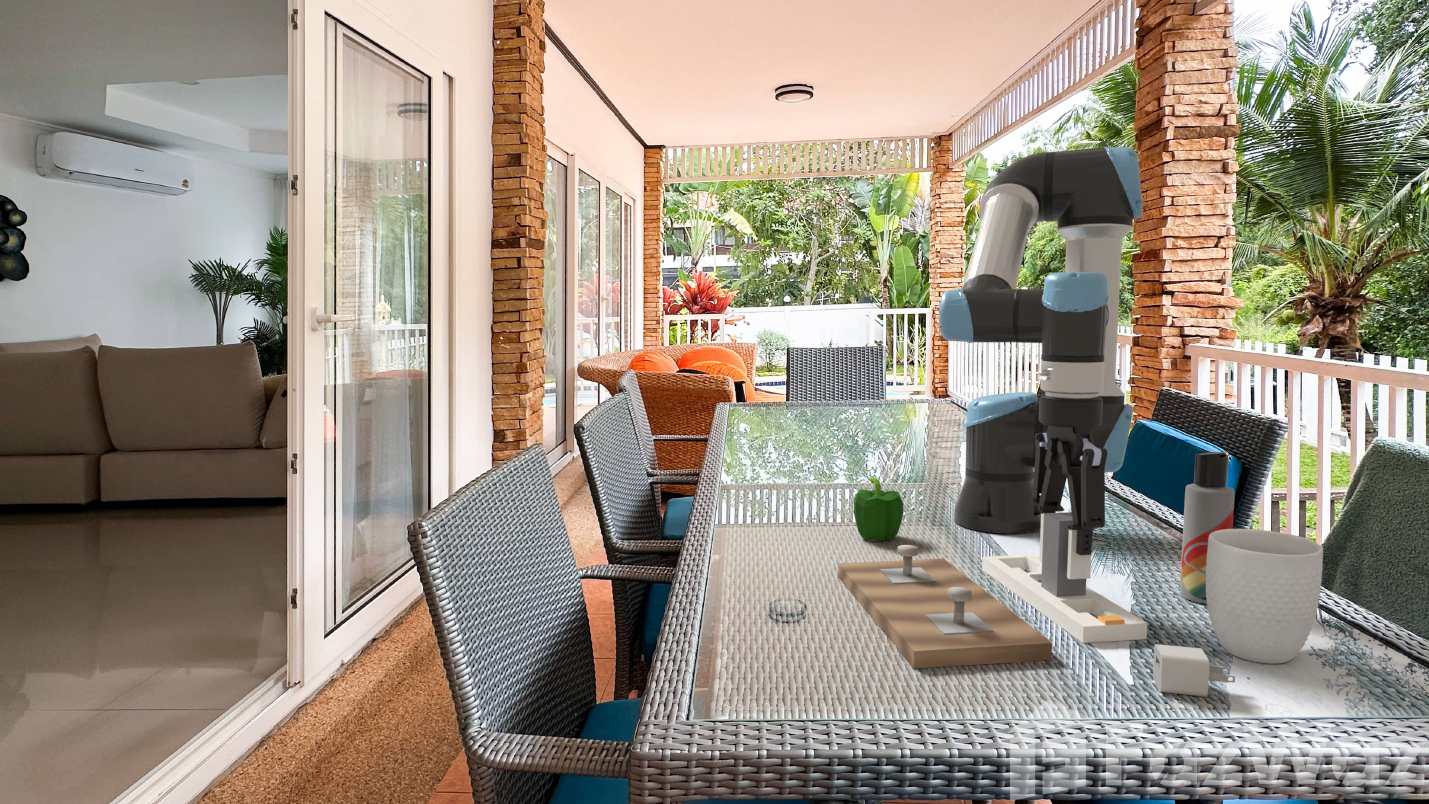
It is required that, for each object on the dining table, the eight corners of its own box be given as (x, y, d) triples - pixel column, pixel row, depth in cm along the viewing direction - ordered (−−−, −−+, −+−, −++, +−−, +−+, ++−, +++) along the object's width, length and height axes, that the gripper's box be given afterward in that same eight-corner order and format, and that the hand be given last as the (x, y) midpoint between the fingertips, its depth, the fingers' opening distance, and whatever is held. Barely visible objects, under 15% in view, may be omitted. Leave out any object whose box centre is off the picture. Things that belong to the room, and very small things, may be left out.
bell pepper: (903, 546, 143) (904, 486, 142) (852, 543, 144) (852, 484, 143) (902, 532, 151) (903, 475, 150) (854, 530, 153) (855, 474, 151)
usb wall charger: (1152, 678, 93) (1154, 641, 93) (1225, 685, 91) (1228, 648, 91) (1160, 694, 89) (1162, 656, 89) (1236, 702, 87) (1239, 664, 87)
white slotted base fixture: (982, 569, 130) (984, 490, 129) (1033, 567, 131) (1035, 488, 130) (1082, 642, 103) (1087, 543, 101) (1146, 639, 103) (1151, 540, 102)
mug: (1260, 622, 108) (1267, 519, 107) (1357, 654, 99) (1367, 542, 97) (1180, 644, 102) (1186, 535, 100) (1275, 681, 92) (1284, 560, 90)
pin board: (837, 576, 128) (838, 536, 127) (943, 571, 129) (944, 532, 129) (913, 668, 96) (914, 615, 95) (1051, 659, 98) (1053, 608, 97)
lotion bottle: (1210, 608, 113) (1219, 456, 111) (1170, 595, 118) (1178, 449, 116) (1237, 600, 116) (1246, 452, 114) (1196, 588, 121) (1205, 446, 119)
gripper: (1008, 387, 121) (1003, 549, 123) (1084, 404, 101) (1076, 595, 104) (1059, 385, 121) (1053, 547, 124) (1144, 402, 102) (1134, 592, 105)
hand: (1064, 569), depth 114 cm, fingers open, 6 cm apart
